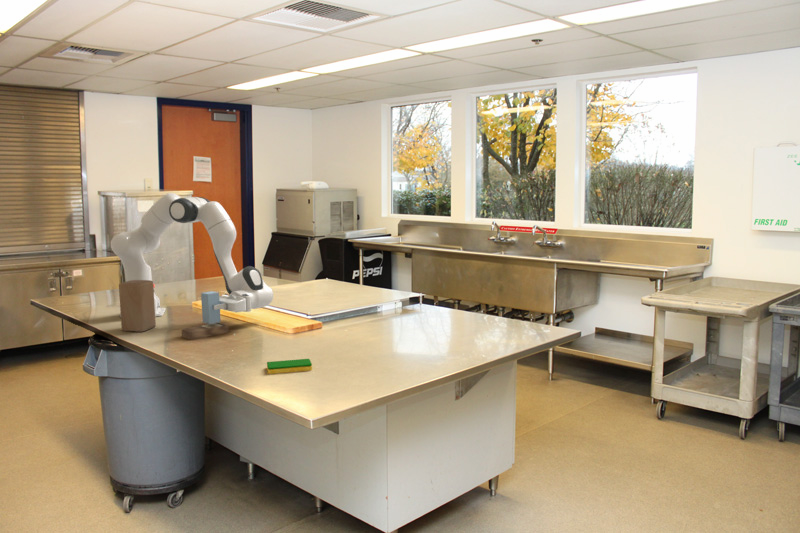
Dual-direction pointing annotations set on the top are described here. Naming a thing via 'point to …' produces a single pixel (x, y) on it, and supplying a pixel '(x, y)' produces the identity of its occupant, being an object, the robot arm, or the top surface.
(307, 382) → the top surface
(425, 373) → the top surface
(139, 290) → the block
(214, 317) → the post
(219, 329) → the plinth
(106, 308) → the top surface
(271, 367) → the dish sponge
